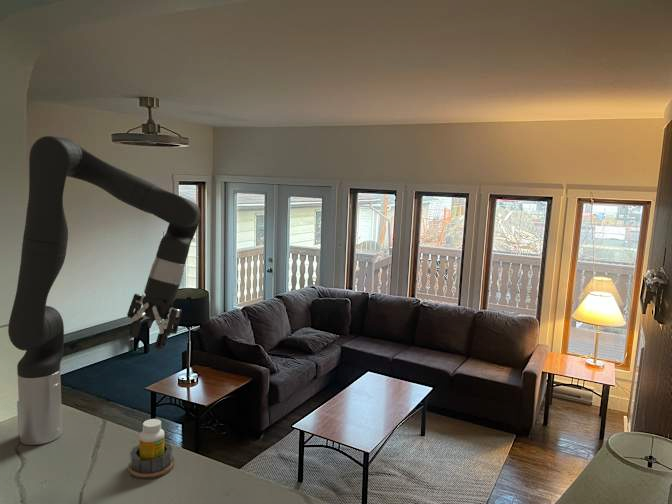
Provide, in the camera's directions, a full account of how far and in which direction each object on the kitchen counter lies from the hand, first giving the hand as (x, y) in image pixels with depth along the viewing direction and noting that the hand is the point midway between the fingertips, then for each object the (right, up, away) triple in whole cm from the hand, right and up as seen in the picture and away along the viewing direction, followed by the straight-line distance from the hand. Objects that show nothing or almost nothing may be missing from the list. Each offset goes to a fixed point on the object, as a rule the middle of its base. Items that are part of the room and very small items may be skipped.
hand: (145, 342), depth 122 cm
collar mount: (+3, -28, -5) cm, 28 cm away
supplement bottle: (+3, -27, -5) cm, 28 cm away
